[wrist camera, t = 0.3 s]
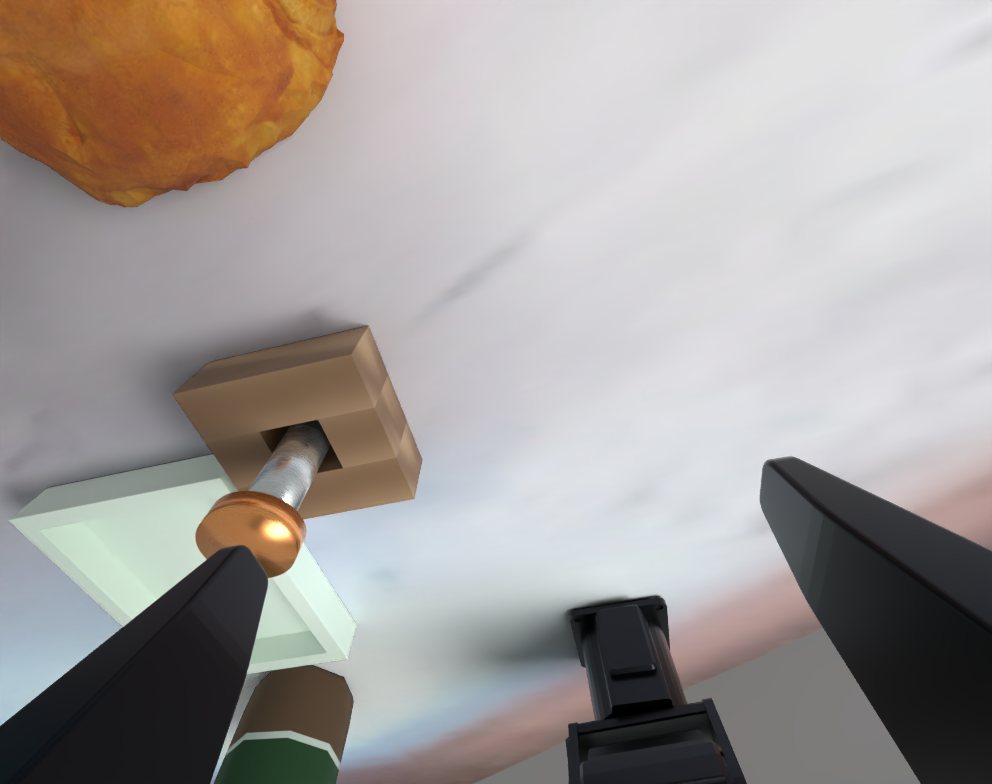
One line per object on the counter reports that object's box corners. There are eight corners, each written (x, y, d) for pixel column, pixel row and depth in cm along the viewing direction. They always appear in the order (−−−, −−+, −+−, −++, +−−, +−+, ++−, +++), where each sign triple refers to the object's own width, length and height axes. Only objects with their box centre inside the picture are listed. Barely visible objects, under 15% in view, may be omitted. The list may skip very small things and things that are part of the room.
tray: (356, 624, 32) (347, 659, 30) (202, 648, 34) (183, 683, 32) (243, 447, 24) (220, 477, 22) (47, 488, 26) (8, 520, 24)
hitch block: (422, 459, 25) (414, 498, 22) (286, 486, 26) (263, 526, 23) (368, 325, 21) (351, 354, 18) (209, 362, 22) (172, 394, 19)
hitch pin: (366, 434, 24) (312, 570, 17) (306, 446, 24) (227, 585, 17) (341, 378, 22) (268, 503, 15) (276, 392, 23) (175, 521, 15)
